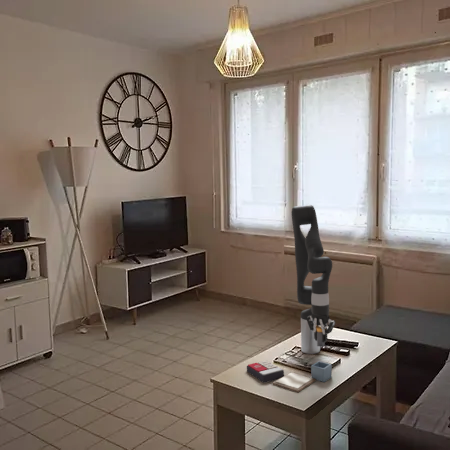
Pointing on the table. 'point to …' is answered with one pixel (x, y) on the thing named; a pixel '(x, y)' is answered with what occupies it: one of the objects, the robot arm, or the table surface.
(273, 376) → the dark grey box
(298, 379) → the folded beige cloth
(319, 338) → the marker
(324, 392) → the table surface
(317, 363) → the pen cup
